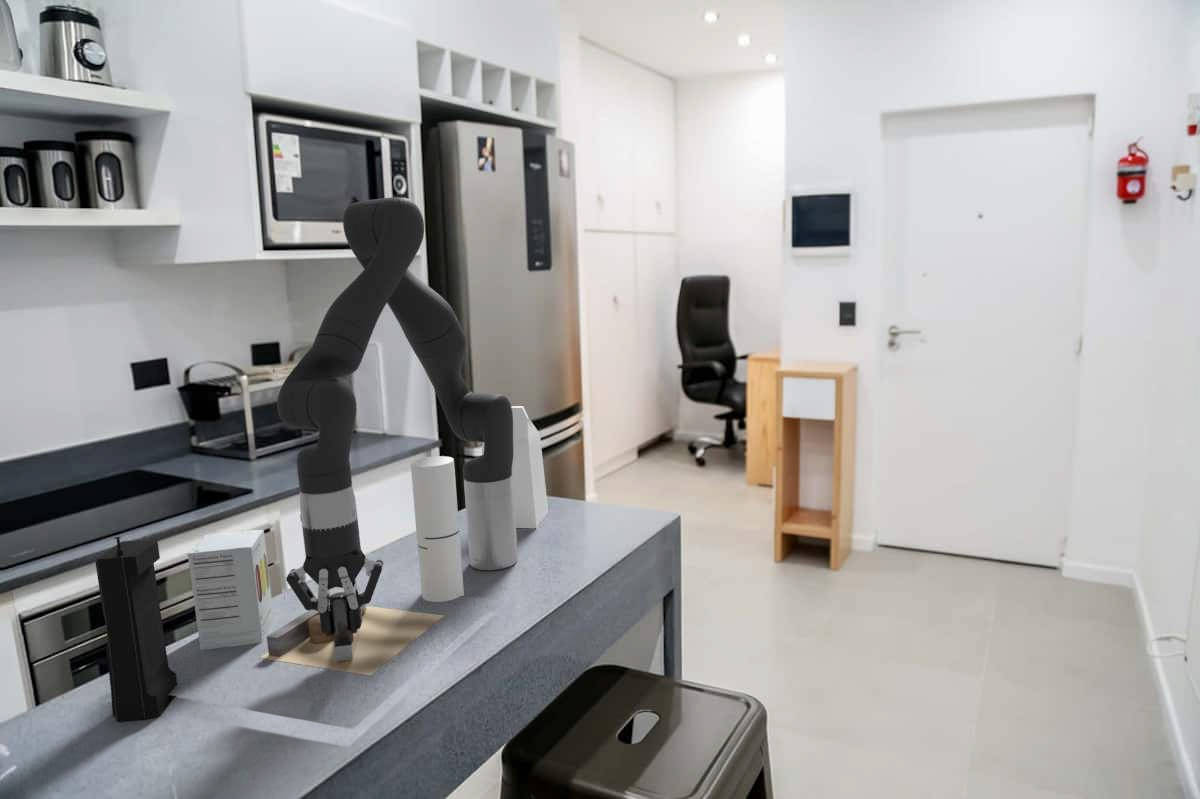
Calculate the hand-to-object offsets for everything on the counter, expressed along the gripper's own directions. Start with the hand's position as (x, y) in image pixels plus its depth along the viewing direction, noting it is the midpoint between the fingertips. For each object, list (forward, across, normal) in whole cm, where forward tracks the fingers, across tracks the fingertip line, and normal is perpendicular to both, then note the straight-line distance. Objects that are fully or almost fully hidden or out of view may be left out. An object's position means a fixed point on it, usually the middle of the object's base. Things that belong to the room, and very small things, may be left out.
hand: (342, 631), depth 120 cm
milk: (+6, -28, -63) cm, 69 cm away
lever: (+4, 0, -8) cm, 9 cm away
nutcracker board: (+6, -1, -7) cm, 9 cm away
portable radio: (+6, +26, +4) cm, 27 cm away
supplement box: (+6, +18, -13) cm, 23 cm away
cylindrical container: (+6, -13, -21) cm, 26 cm away
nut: (+4, +4, -8) cm, 10 cm away
